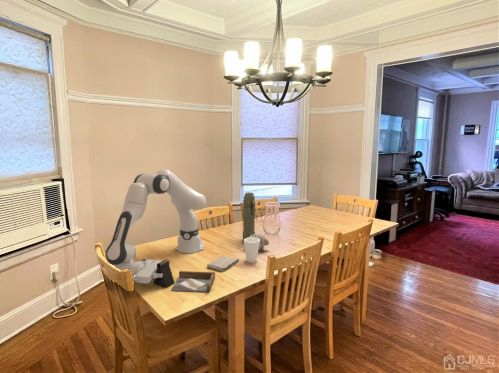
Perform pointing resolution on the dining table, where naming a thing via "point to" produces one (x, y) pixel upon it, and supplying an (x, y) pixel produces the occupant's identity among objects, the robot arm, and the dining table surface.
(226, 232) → the dining table surface
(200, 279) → the tray
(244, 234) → the green cactus
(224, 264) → the washcloth
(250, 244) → the foam cup
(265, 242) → the toy sheep
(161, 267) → the door stopper
